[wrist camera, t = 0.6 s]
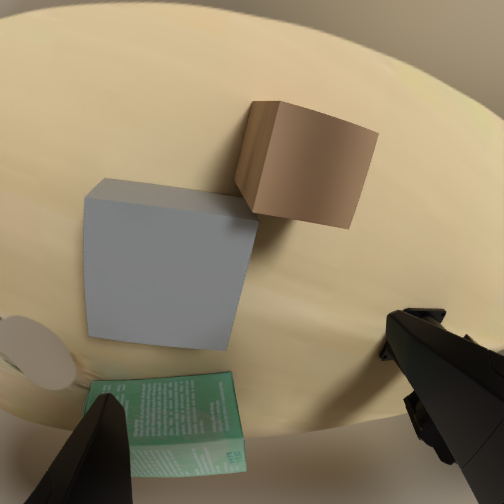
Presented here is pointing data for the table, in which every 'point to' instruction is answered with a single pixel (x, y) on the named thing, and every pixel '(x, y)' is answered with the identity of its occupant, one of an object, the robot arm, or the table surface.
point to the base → (164, 263)
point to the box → (179, 424)
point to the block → (303, 164)
